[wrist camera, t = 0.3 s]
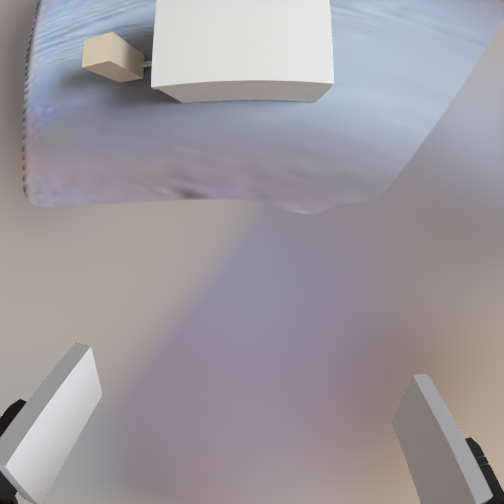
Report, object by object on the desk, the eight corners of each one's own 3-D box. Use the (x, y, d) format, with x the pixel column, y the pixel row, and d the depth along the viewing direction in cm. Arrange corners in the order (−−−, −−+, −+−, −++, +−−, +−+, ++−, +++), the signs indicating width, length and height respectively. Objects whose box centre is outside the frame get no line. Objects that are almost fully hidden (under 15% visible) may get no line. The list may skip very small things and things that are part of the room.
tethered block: (121, 49, 30) (86, 27, 21) (288, 35, 29) (295, 2, 21) (119, 93, 32) (80, 80, 23) (289, 82, 31) (297, 59, 23)
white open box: (183, 25, 29) (158, -11, 20) (313, 22, 29) (328, -16, 19) (180, 103, 32) (150, 87, 23) (316, 102, 32) (335, 83, 22)
